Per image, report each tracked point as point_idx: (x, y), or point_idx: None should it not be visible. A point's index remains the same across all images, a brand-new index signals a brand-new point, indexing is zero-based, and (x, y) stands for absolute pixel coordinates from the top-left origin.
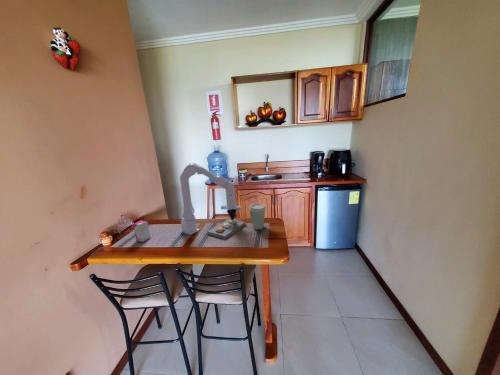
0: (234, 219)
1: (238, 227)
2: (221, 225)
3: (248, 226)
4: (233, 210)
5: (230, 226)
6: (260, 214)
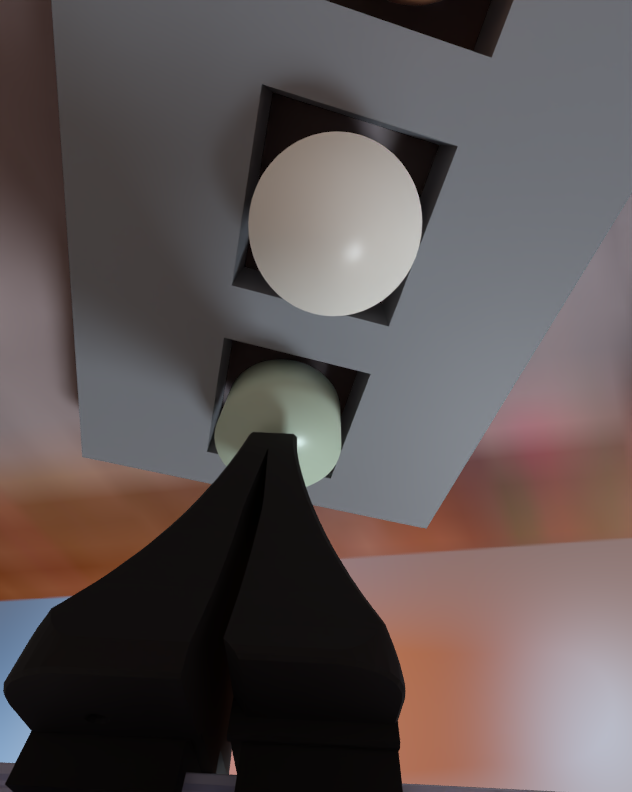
0: None
1: (78, 258)
2: (489, 260)
3: (25, 388)
4: (71, 719)
5: None
6: None
